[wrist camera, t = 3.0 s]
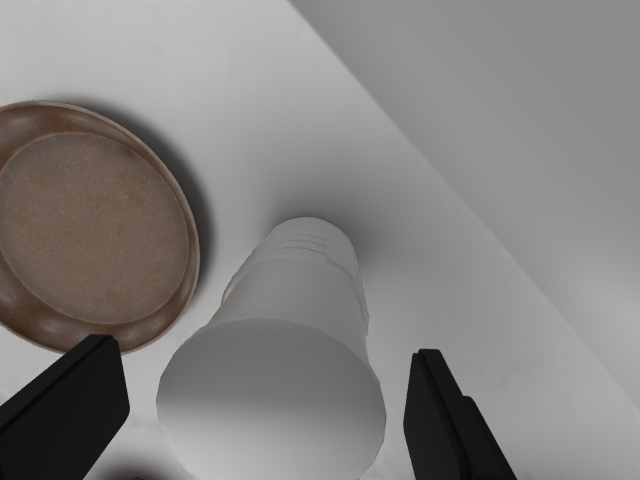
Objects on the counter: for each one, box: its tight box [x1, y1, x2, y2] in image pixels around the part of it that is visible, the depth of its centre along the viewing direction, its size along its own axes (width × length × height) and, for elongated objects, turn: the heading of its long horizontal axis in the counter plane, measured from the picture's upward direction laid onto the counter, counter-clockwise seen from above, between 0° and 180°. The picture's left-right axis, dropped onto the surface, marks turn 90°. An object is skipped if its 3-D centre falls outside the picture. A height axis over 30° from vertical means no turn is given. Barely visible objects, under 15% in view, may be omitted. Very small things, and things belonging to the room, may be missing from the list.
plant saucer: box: [0, 101, 200, 355], centre depth 23 cm, size 18×18×3 cm
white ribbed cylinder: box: [156, 217, 386, 480], centre depth 17 cm, size 7×7×15 cm
